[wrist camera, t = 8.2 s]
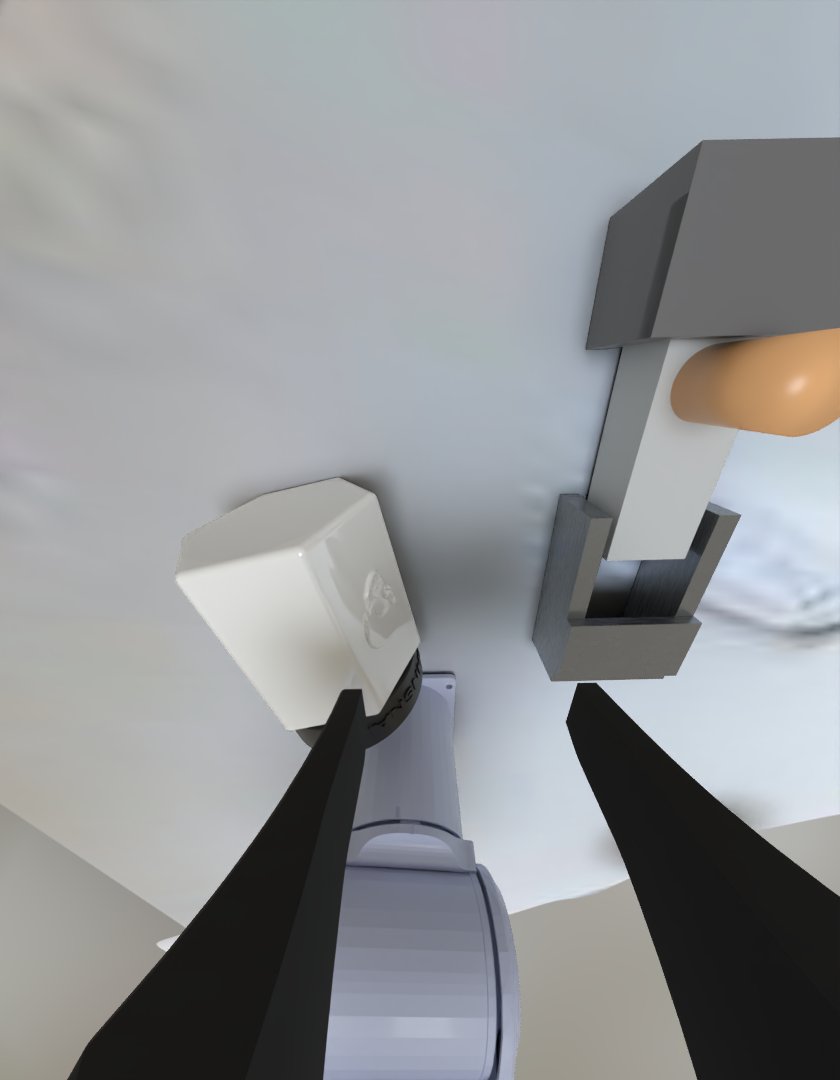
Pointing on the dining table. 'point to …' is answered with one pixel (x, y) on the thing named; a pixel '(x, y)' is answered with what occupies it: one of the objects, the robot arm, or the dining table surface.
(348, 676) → the jar
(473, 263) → the dining table surface
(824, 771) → the dining table surface
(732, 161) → the dark gray rectangular block
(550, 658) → the sleeve
